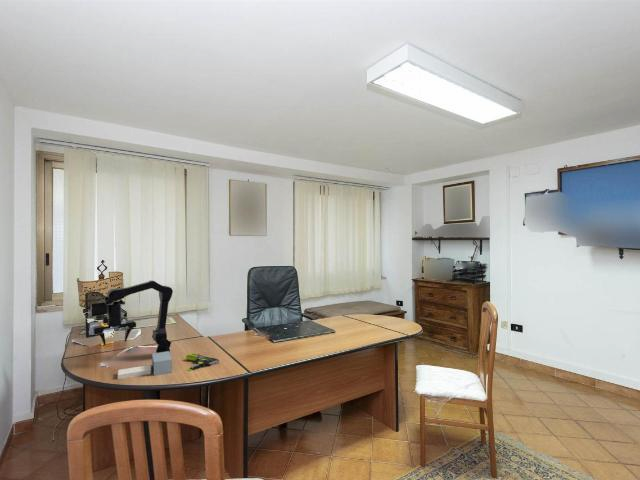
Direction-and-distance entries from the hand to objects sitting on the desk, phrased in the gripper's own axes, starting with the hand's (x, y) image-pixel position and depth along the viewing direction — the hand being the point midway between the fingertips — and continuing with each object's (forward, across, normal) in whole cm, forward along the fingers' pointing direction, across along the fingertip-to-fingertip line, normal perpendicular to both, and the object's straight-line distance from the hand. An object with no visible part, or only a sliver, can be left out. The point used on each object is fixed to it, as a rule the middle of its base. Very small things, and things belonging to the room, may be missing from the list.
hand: (115, 343), depth 172 cm
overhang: (+12, -17, +19) cm, 29 cm away
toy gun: (+14, -33, +25) cm, 43 cm away
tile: (+13, -5, +17) cm, 22 cm away
